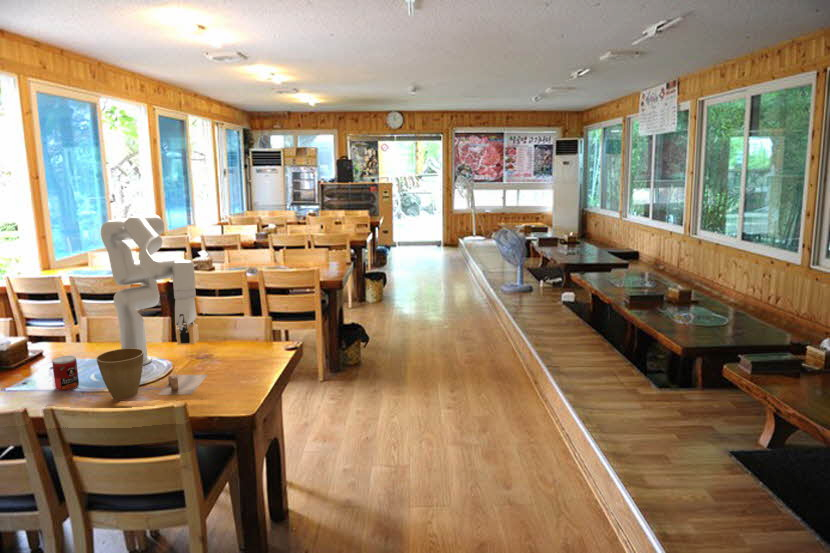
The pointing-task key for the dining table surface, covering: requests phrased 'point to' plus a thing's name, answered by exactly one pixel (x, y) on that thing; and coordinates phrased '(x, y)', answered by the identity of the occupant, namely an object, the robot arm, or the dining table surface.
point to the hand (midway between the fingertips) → (188, 339)
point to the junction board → (182, 384)
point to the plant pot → (121, 371)
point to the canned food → (65, 372)
